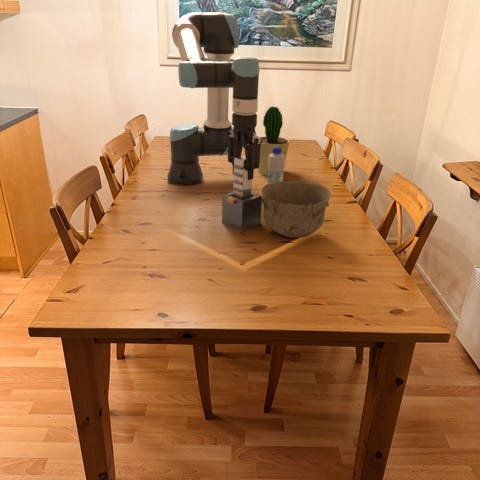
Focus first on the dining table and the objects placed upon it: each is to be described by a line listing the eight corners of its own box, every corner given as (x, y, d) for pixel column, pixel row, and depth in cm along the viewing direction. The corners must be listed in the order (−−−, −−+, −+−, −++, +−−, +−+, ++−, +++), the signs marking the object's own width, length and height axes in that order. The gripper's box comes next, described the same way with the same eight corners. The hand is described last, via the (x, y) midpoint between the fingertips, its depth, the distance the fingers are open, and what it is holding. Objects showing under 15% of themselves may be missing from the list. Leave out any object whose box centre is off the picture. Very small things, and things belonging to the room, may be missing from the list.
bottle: (281, 200, 174) (285, 149, 165) (264, 199, 175) (267, 148, 166) (283, 194, 180) (287, 145, 171) (267, 193, 181) (269, 144, 172)
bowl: (281, 255, 133) (285, 208, 127) (246, 227, 150) (248, 184, 144) (340, 241, 143) (346, 197, 136) (301, 217, 160) (305, 176, 153)
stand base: (211, 225, 151) (211, 194, 146) (240, 214, 160) (241, 185, 155) (241, 239, 142) (242, 206, 137) (270, 226, 151) (272, 196, 147)
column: (231, 222, 150) (232, 157, 141) (241, 218, 153) (243, 155, 144) (241, 226, 147) (243, 160, 138) (250, 222, 150) (253, 158, 141)
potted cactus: (294, 174, 205) (299, 106, 192) (267, 179, 197) (271, 109, 184) (273, 165, 216) (277, 101, 203) (247, 170, 208) (249, 103, 195)
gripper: (216, 110, 138) (215, 182, 148) (257, 118, 127) (254, 196, 137) (233, 107, 143) (232, 178, 153) (274, 115, 132) (270, 191, 142)
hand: (242, 186), depth 145 cm, fingers closed on column, 4 cm apart
